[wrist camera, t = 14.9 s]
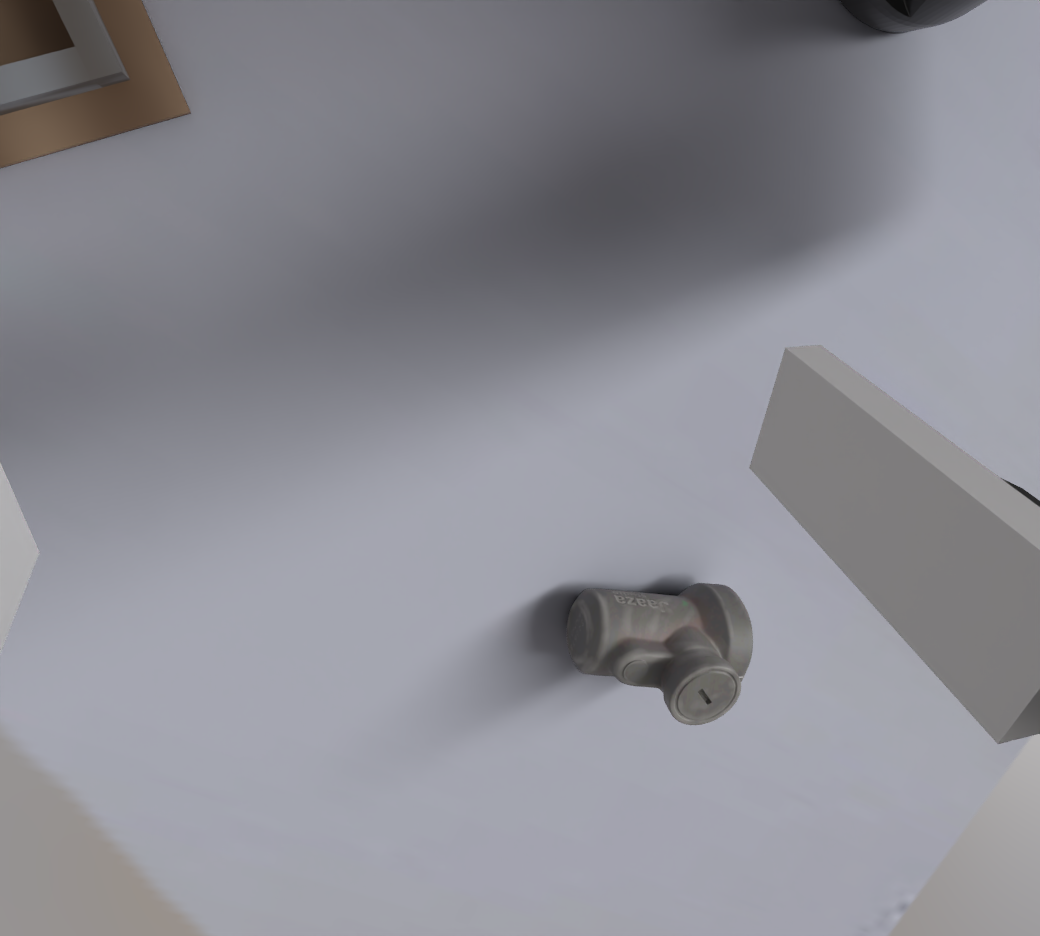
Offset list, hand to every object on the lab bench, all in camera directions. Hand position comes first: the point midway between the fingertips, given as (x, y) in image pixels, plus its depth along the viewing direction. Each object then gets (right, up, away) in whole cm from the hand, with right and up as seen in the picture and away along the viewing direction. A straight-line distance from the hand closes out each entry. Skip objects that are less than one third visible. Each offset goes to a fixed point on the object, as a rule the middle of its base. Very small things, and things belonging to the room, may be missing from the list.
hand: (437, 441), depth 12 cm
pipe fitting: (+10, -11, +42) cm, 45 cm away
